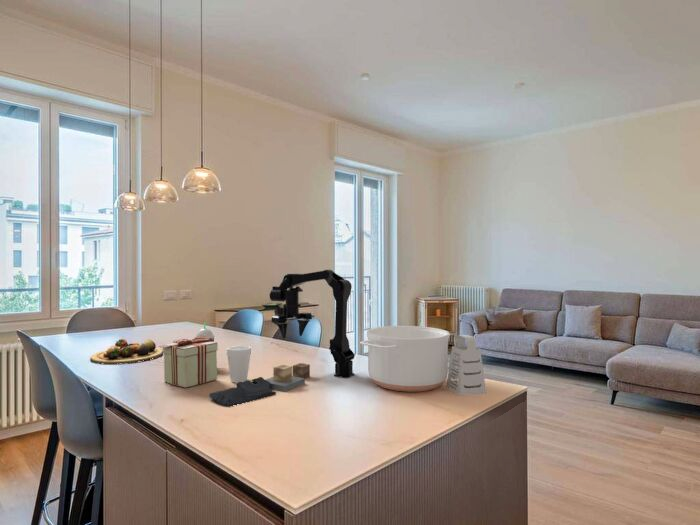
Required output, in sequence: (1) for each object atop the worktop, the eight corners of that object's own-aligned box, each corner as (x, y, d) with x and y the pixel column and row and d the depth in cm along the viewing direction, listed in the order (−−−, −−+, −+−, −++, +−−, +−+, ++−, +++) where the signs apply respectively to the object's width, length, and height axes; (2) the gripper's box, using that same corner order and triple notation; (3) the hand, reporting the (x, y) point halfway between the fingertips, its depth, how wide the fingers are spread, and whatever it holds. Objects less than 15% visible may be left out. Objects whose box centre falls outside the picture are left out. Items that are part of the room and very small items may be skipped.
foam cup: (236, 385, 165) (236, 351, 165) (221, 381, 171) (221, 348, 171) (255, 379, 173) (255, 347, 173) (241, 376, 178) (241, 344, 178)
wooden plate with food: (94, 354, 222) (94, 338, 221) (162, 348, 235) (162, 333, 235) (86, 369, 193) (85, 351, 192) (164, 362, 206) (163, 344, 206)
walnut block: (309, 376, 178) (309, 364, 178) (302, 379, 174) (302, 367, 174) (299, 375, 181) (299, 363, 181) (292, 377, 176) (292, 365, 176)
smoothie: (217, 365, 197) (217, 321, 197) (209, 369, 189) (209, 323, 189) (199, 364, 198) (199, 320, 198) (191, 369, 190) (191, 323, 190)
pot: (408, 367, 194) (408, 322, 194) (471, 381, 172) (471, 330, 172) (340, 385, 165) (340, 332, 165) (406, 405, 143) (406, 344, 143)
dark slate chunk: (202, 399, 149) (202, 386, 149) (255, 386, 166) (255, 373, 166) (227, 410, 139) (227, 395, 139) (280, 394, 156) (280, 381, 156)
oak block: (292, 379, 166) (292, 366, 166) (283, 382, 162) (283, 369, 162) (281, 377, 169) (281, 364, 169) (273, 380, 165) (273, 367, 165)
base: (304, 383, 168) (304, 378, 168) (285, 391, 157) (285, 386, 157) (280, 379, 174) (280, 374, 174) (260, 386, 163) (260, 381, 163)
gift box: (189, 373, 183) (189, 332, 183) (220, 379, 173) (220, 336, 173) (153, 383, 168) (153, 338, 168) (184, 390, 159) (184, 343, 159)
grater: (460, 395, 154) (460, 339, 153) (446, 387, 164) (446, 334, 164) (486, 393, 156) (486, 337, 156) (470, 385, 166) (471, 333, 166)
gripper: (296, 299, 204) (297, 332, 204) (263, 302, 190) (264, 338, 190) (312, 300, 196) (313, 335, 196) (279, 303, 182) (279, 340, 182)
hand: (292, 337), depth 191 cm, fingers open, 9 cm apart
